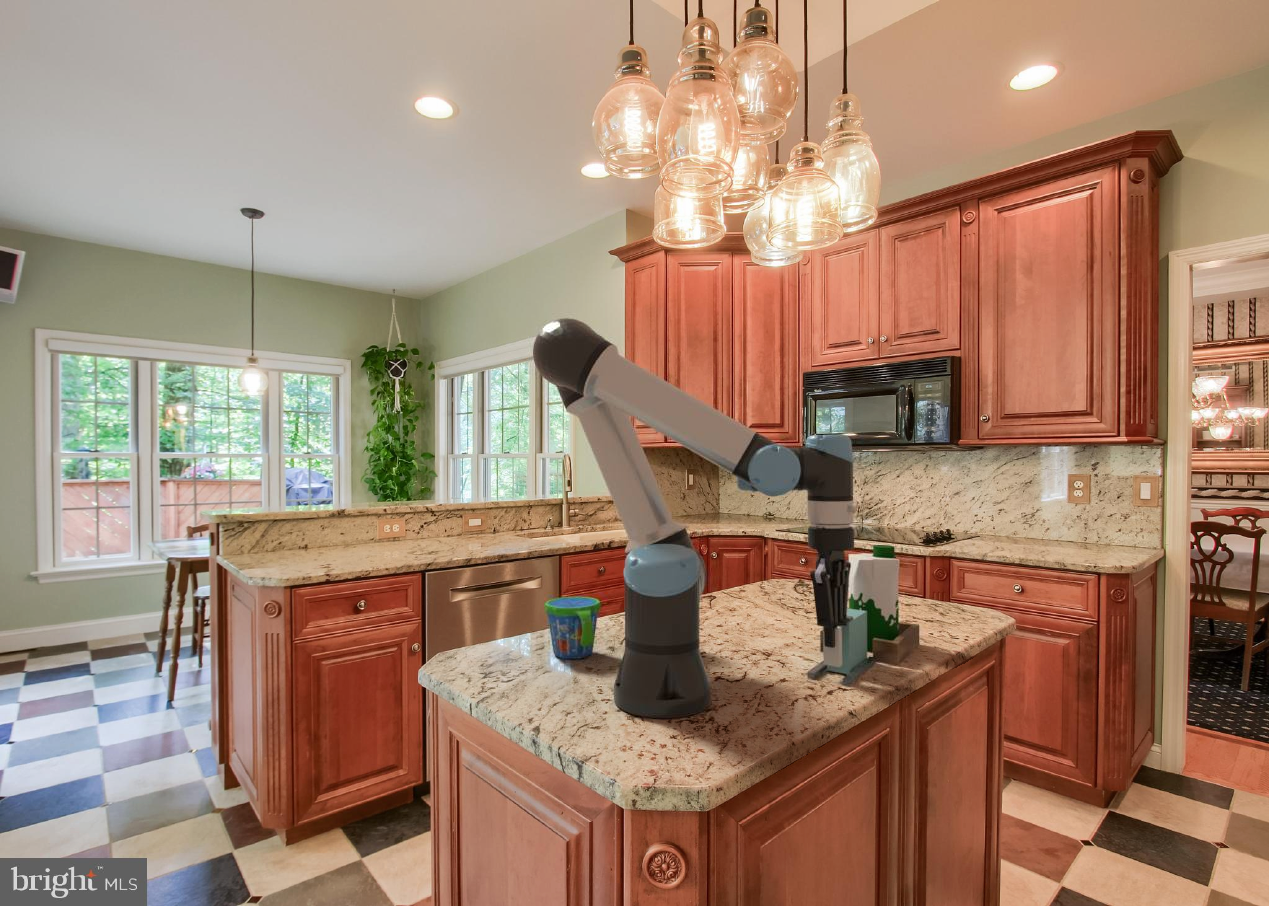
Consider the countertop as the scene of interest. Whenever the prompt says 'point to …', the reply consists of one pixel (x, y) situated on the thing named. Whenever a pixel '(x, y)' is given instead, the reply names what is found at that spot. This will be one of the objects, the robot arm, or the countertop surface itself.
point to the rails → (849, 678)
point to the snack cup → (572, 625)
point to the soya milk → (876, 591)
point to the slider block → (853, 641)
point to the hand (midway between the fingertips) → (832, 664)
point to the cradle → (893, 644)
